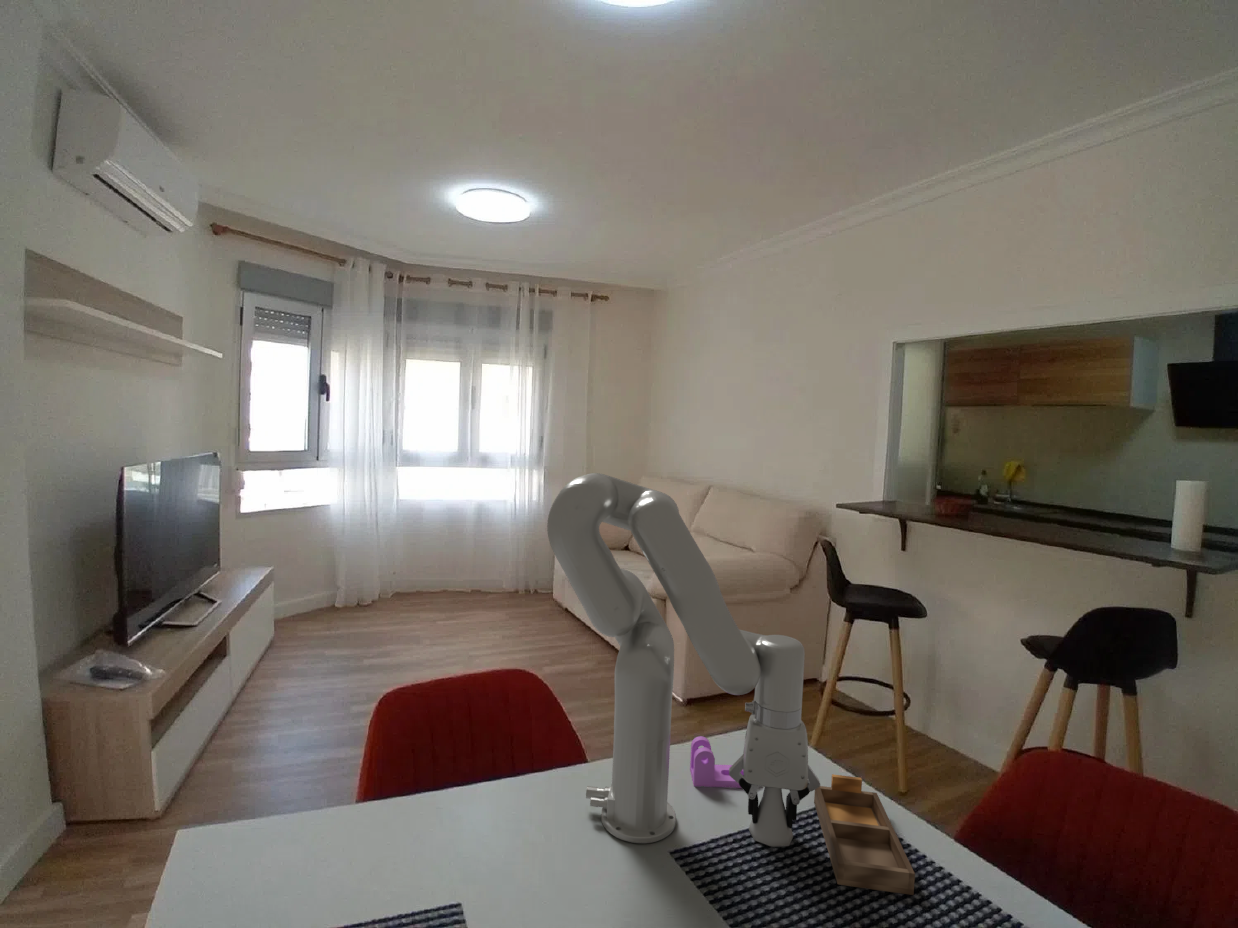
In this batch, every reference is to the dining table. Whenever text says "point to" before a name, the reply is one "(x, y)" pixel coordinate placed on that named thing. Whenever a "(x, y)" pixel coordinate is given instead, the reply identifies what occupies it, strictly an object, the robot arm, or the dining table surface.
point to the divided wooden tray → (861, 838)
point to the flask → (771, 820)
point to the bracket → (708, 767)
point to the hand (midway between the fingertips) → (771, 819)
